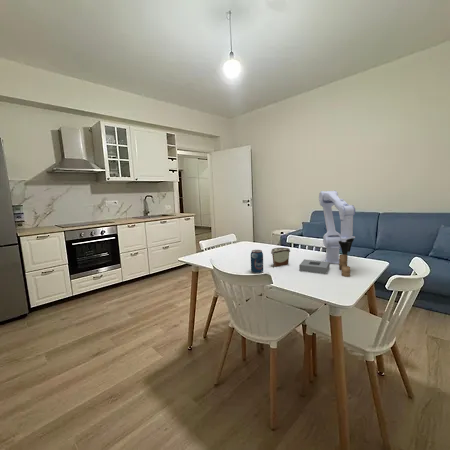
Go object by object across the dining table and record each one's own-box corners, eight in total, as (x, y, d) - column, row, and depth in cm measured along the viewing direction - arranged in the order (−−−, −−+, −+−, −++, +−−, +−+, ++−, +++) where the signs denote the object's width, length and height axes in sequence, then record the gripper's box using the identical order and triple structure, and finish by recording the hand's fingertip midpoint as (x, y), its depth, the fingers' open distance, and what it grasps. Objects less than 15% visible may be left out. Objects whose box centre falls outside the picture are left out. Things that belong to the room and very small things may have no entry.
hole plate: (304, 265, 147) (304, 259, 146) (329, 267, 139) (329, 261, 139) (299, 270, 136) (299, 264, 136) (326, 274, 129) (326, 267, 129)
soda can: (256, 274, 134) (256, 253, 132) (248, 271, 139) (247, 250, 137) (266, 271, 138) (265, 250, 136) (257, 268, 143) (256, 248, 142)
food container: (284, 262, 154) (284, 246, 153) (290, 264, 149) (290, 248, 147) (267, 264, 150) (267, 248, 149) (272, 267, 144) (272, 251, 143)
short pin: (341, 273, 129) (341, 265, 129) (350, 274, 127) (350, 266, 127) (341, 276, 126) (341, 267, 125) (349, 277, 124) (350, 268, 123)
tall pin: (339, 267, 139) (339, 254, 138) (347, 268, 137) (347, 254, 136) (338, 269, 135) (339, 255, 134) (346, 270, 133) (347, 256, 132)
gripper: (352, 230, 123) (352, 256, 124) (357, 226, 134) (356, 250, 136) (337, 229, 127) (337, 255, 129) (343, 226, 138) (342, 249, 140)
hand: (346, 253), depth 133 cm, fingers open, 7 cm apart
